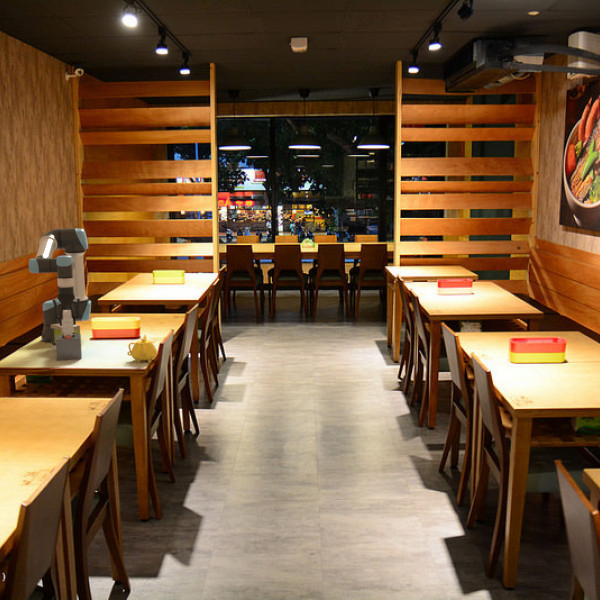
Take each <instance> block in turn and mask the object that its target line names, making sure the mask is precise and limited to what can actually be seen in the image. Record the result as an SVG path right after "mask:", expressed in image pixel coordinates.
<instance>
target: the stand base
mask: <svg viewBox="0 0 600 600" xmlns="http://www.w3.org/2000/svg"><path fill="white" fill-rule="evenodd" d="M72 335H73V338H71V336H66V338H64V335H56V350H55V353H56V355H55V356H56V361H57V362H58V361H70V360H71V361H72V360H73V361H75V360H82V358H83V357H82V355H83V354H82V353H83V352H82V351H83V350H82V338H81V337H82V333H80V334H72Z"/></svg>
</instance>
